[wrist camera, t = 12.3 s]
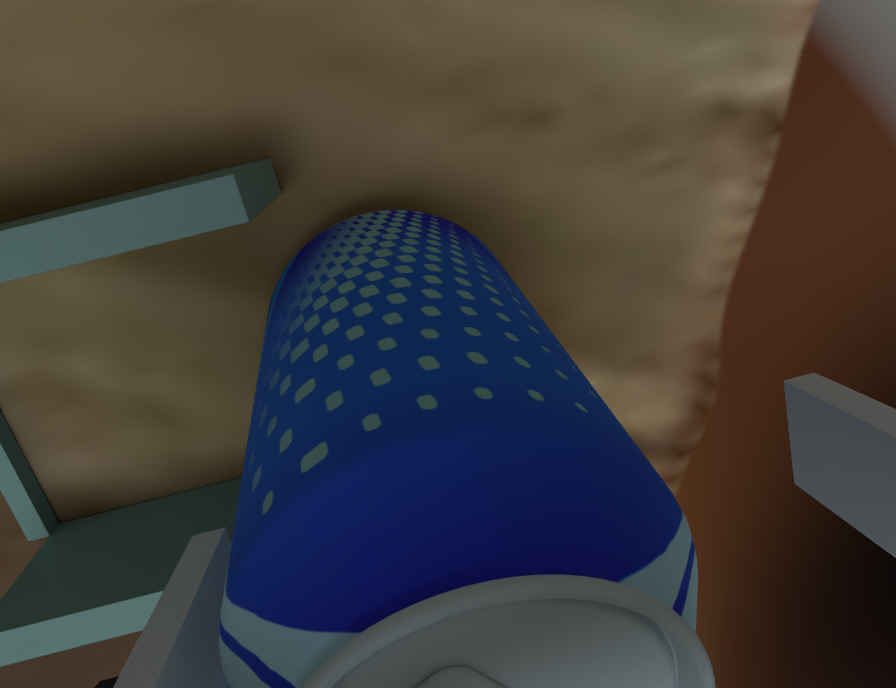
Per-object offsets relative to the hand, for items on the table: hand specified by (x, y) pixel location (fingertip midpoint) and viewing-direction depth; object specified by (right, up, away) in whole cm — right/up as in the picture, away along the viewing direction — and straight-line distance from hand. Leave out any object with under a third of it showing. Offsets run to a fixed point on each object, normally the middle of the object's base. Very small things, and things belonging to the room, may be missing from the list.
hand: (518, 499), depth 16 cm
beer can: (-4, +5, +8) cm, 10 cm away
